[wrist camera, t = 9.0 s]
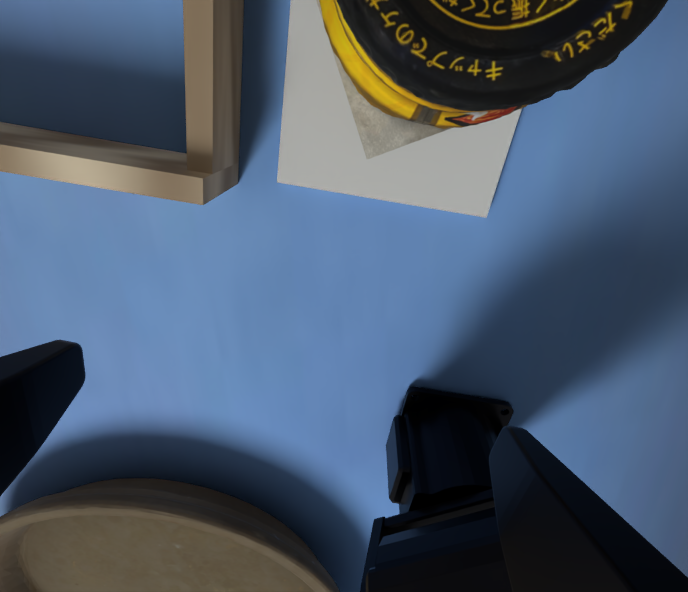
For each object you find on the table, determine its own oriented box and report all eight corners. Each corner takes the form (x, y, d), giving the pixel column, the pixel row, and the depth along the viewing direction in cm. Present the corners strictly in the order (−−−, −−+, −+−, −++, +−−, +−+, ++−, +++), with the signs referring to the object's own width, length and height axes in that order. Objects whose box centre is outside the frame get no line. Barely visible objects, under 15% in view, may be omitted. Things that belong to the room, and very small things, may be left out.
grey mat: (616, -204, 13) (626, -217, 12) (482, 214, 19) (486, 217, 18) (314, -261, 13) (312, -278, 12) (279, 180, 19) (277, 182, 18)
